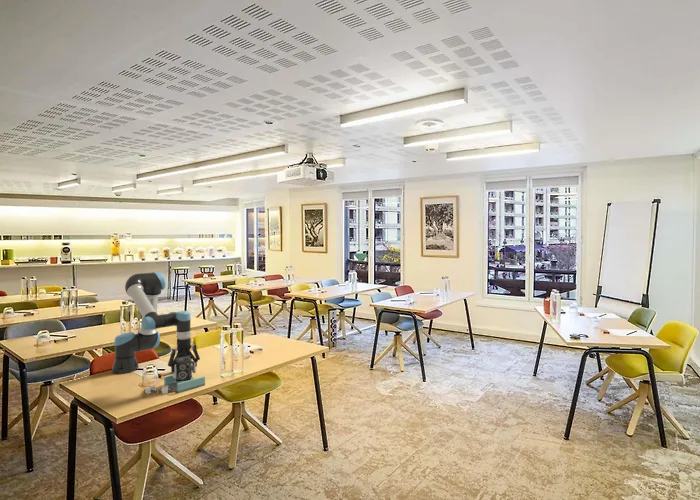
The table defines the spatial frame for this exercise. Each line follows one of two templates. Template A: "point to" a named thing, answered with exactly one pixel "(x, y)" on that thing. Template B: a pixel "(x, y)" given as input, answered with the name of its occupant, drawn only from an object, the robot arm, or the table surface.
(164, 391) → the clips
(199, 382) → the dock
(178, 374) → the camera
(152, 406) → the table surface
